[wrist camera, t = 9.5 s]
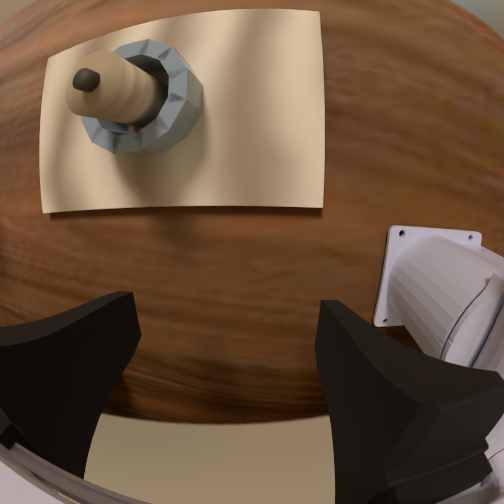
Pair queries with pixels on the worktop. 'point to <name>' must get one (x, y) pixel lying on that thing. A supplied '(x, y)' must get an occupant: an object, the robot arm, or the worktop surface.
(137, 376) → the worktop surface
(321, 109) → the board
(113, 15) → the worktop surface
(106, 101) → the wick peg
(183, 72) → the grey faceted ring
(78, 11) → the worktop surface
